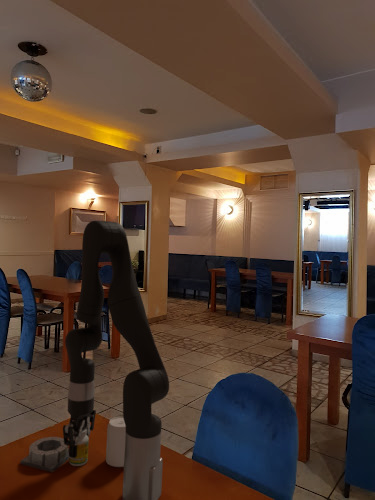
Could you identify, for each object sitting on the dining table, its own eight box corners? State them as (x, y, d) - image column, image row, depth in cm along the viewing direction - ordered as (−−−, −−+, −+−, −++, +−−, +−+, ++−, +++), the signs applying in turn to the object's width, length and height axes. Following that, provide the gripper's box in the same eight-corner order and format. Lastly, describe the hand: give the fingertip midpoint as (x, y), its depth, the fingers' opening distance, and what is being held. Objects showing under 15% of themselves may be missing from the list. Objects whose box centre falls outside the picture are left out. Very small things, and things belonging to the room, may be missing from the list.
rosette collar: (75, 453, 122) (75, 440, 122) (52, 472, 112) (52, 458, 112) (45, 446, 126) (45, 434, 126) (20, 464, 115) (21, 450, 115)
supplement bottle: (69, 457, 120) (71, 426, 120) (87, 456, 121) (89, 425, 121) (68, 467, 114) (69, 434, 114) (87, 466, 116) (88, 433, 116)
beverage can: (100, 463, 117) (101, 423, 117) (117, 451, 124) (118, 413, 124) (122, 472, 114) (124, 430, 113) (138, 459, 121) (140, 419, 121)
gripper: (78, 406, 110) (75, 467, 110) (104, 389, 123) (102, 443, 123) (55, 401, 112) (52, 461, 112) (84, 385, 126) (81, 438, 126)
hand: (78, 451), depth 118 cm, fingers closed on supplement bottle, 5 cm apart
